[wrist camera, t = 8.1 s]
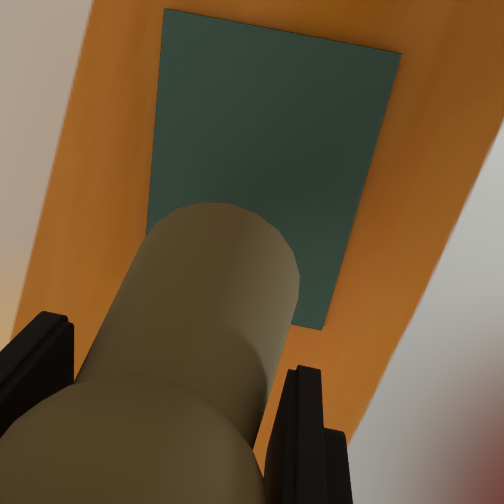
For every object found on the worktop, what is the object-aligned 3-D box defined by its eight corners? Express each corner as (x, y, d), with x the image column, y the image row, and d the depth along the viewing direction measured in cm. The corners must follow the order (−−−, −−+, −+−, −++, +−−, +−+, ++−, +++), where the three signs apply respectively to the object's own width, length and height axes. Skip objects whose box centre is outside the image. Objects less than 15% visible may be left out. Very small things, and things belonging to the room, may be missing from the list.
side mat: (400, 53, 24) (402, 53, 24) (321, 326, 32) (321, 330, 31) (166, 8, 24) (163, 8, 24) (143, 289, 32) (141, 293, 32)
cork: (291, 193, 15) (261, 495, 5) (307, 346, 17) (309, 764, 7) (118, 210, 16) (-219, 492, 6) (155, 353, 18) (-34, 731, 8)
